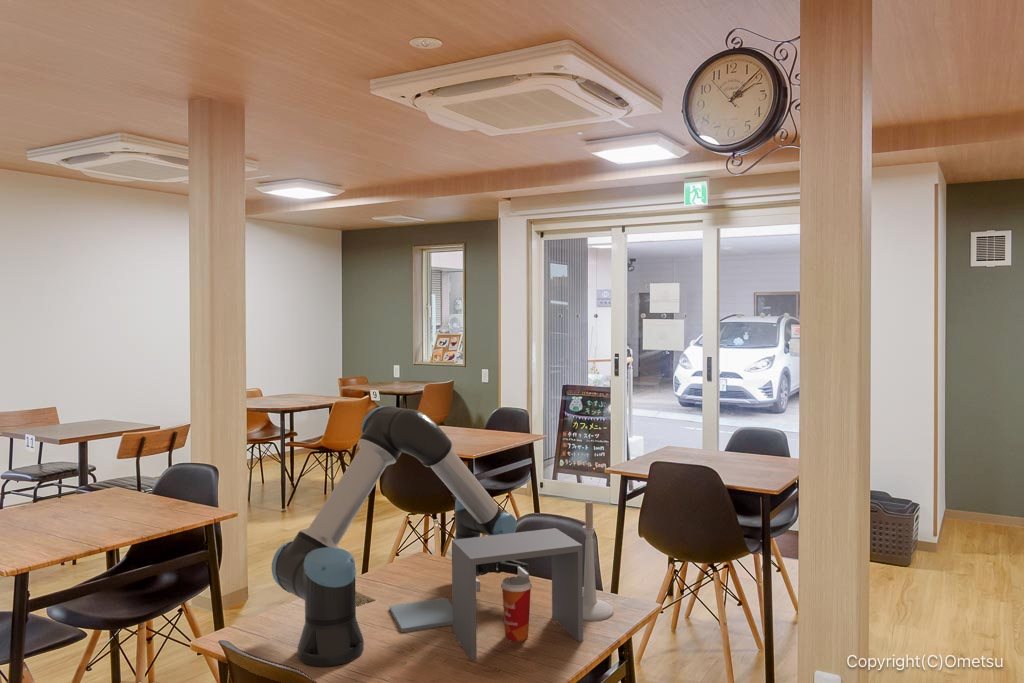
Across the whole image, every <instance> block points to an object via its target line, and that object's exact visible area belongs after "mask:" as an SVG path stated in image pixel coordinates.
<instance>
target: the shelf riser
mask: <svg viewBox="0 0 1024 683" xmlns="http://www.w3.org/2000/svg"><path fill="white" fill-rule="evenodd" d="M583 554H584V553H583V544H582V543H580V542H578V541H577V540H575V539H574V538H572V537H571V536H569V535H567V534H566V533H564V532H563V531H561V530H560V529H558V528H556V527H555V528H546V529H545V528H544V529H536V530H527V531H520V532H519V531H517V532H515V533H509V534H500V535H491V536H488V535H483V536H480V537H473V538H465V539H456V540H453V539H451V581H452V583H451V588H452V589H451V592H452V593H451V595H452V596H451V597H452V599H451V600H452V603H451V604H452V616H453V625H452V634H453V636H454V635H455V636H454V637H455V638H457V639H458V640H457V639H456V640H457V642H458V643H459V642H460V643H459V644H460V645H462V646H461V648H464V649H463V650H464V651H465V654H466V655H468V657H469V658H470V660H471V661H474V660H477V656H478V655H477V650H478V649H477V648H478V647H477V645H478V644H477V642H478V641H477V591H476V578H477V576H476V565H478V564H486V563H494V562H501V561H509V560H516V561H518V560H524V559H531V558H532V559H533V558H539V557H548V556H551V613H552V614H551V618H552V619H553V620H555V621H556V622H557V623H558V624H559V625H560V626H561V627H562V628H563V629H564V630H565V629H566V630H565V631H566V632H568V633H569V635H571V636H572V638H574V639H575V640H576V641H577V642H583V641H584V620H583V587H584V570H583V566H584V565H583V562H584V561H583Z"/></svg>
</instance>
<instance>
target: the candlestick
mask: <svg viewBox="0 0 1024 683" xmlns="http://www.w3.org/2000/svg"><path fill="white" fill-rule="evenodd" d="M584 506H585V511H584V512H585V516H584V517H585V521H584V522H585V525H583V526H582V529H584V534H585V537H586V539H585V540H584V541H585V544H584V545H585V547H584V565H583V566H584V570H583V621H586V622H597V621H604V620H606V619H607V620H608V619H610V618H611V617H613V616H614V609H615V608H614V607H613V606H612V605H611V604H609V603H608V602H606V601H604V600H603V599H598V598H597V590H596V575H595V574H596V573H595V571H596V570H595V552H594V539H593V535H594V534H595V529H596V528H597V526H595V525H594V503H593V501H590V500H588V501H585V505H584Z"/></svg>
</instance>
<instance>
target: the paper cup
mask: <svg viewBox="0 0 1024 683" xmlns="http://www.w3.org/2000/svg"><path fill="white" fill-rule="evenodd" d="M500 587H501V590H502V604H503V621H504V622H503V623H504V632H505V634H504V636H505V638H507V639H506V640H507V641H510V640H511V641H510V642H515V641H519V642H523V640H524V641H526V640H527V639H528V638H529V631H530V630H529V629H530V628H529V626H530V611H531V610H530V608H531V607H530V606H531V589H532V587H533V584H532V582H531V580H530V578H529V579H528V578H526V577H521V576H518V575H517V576H510V577H508V576H507V577H505V578H503V580H502V582H501V585H500ZM525 639H526V640H525Z"/></svg>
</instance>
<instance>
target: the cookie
mask: <svg viewBox="0 0 1024 683" xmlns="http://www.w3.org/2000/svg"><path fill="white" fill-rule="evenodd" d="M374 601H376V599H375V598H373V597H370V596H367V595H365V594H363V593H360V592H358V591H356V606H357V607H359V606H358V605H360V606H362V605H361V604H363V605H366V604H365V603H367V604H370V603H372V602H374Z"/></svg>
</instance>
